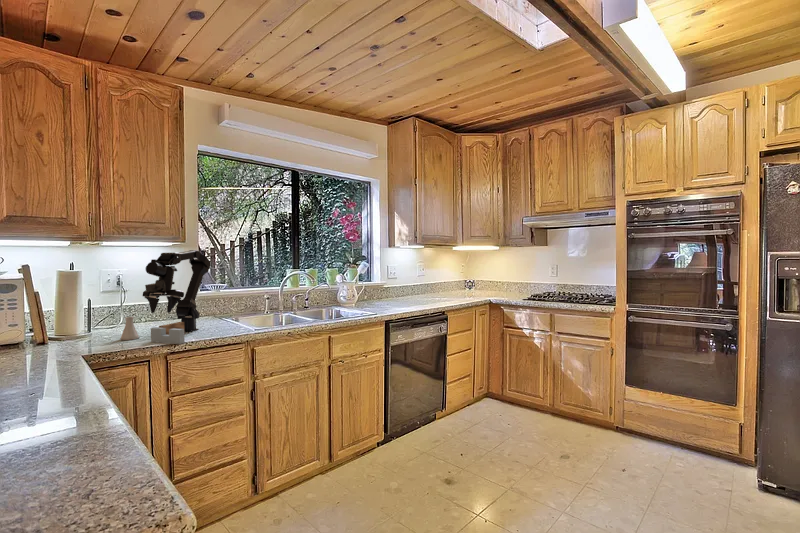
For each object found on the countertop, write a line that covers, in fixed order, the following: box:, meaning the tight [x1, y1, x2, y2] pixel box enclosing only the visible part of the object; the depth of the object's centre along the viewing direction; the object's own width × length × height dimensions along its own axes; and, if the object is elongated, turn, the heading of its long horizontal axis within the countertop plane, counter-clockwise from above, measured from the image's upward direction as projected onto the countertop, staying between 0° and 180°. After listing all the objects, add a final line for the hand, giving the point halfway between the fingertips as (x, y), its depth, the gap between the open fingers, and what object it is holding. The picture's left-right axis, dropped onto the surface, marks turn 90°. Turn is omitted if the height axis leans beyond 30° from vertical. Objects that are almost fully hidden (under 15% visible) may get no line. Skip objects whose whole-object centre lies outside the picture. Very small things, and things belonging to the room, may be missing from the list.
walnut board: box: [158, 321, 184, 335], centre depth 193 cm, size 12×2×6 cm, turn 162°
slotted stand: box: [150, 326, 185, 345], centre depth 181 cm, size 2×16×6 cm, turn 73°
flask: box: [120, 316, 140, 341], centre depth 189 cm, size 7×7×10 cm
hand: (160, 312), depth 187 cm, fingers open, 9 cm apart
